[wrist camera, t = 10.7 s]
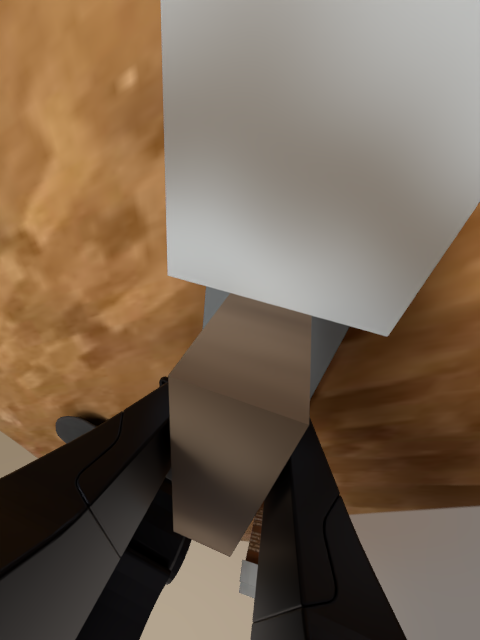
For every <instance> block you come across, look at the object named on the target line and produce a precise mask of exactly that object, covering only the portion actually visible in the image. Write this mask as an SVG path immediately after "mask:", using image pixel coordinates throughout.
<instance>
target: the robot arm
mask: <svg viewBox="0 0 480 640" xmlns="http://www.w3.org/2000/svg"><path fill="white" fill-rule="evenodd" d="M159 384H160V387H159V388H158V389H156V390H154V391H153V392H151V393H150V394H148V395H147V396H145V397H143V398H142V399H140V400H139V401H137V402H136V403H134V404H133V405H131V406H129V407H128V408H126V409H125V410H124V412H120V413H118V414H117V415H115V416H114V417H112V418H110V419H109V420H107V421H105V422H104V423H102V424H101V425H99V426H97V427H96V428H94V429H92V430H91V431H89V432H87V433H85V434H83V435H82V436H80V437H78V438H76V439H74V440H73V441H71V442H69V443H67V444H65V445H63V446H61V447H59V448H58V449H56V450H54V451H52V452H50V453H48V454H46V455H44V456H42V457H41V458H39V459H37V460H35V461H33V462H31V463H29V464H27V465H26V466H24V467H22V468H20V469H18V470H16V471H14V472H12V473H10V474H8V475H6V476H4V477H2V478H0V640H139V639H140V637H141V634H142V632H143V630H144V627H145V625H146V622H147V620H148V618H149V616H150V613H151V611H152V609H153V607H154V605H155V603H156V601H157V599H158V597H159V595H160V593H161V591H162V589H163V588H164V586H165V584H167V585H168V584H170V583H171V581H172V580H173V579H174V578H175V576H176V575H177V573H178V571H179V569H180V567H181V565H182V563H183V561H184V559H185V556H186V554H187V551H188V549H189V546H190V543H191V540H192V539H190V538H187V537H185V536H183V535H181V534H179V533H176V532H174V530H173V500H172V471H171V441H170V412H169V383H168V378H167V377H162V378H161V379H160V381H159ZM339 494H340V492H339V490H338V487H337V484H336V482H335V479H334V477H333V474H332V472H331V469H330V467H329V464H328V462H327V459H326V457H325V454H324V452H323V449H322V447H321V444H320V442H319V439H318V437H317V434H316V432H315V429H314V427H313V424H312V421H311V419H310V416H309V426H308V428H307V429H306V431H305V433H304V434H303V436H302V438H301V439H300V441H299V443H298V444H297V446H296V448H295V449H294V451H293V453H292V454H291V456H290V458H289V459H288V461H287V463H286V465H285V466H284V468H283V470H282V471H281V473H280V475H279V476H278V478H277V480H276V481H275V483H274V485H273V486H272V488H271V490H270V491H269V493H268V495H267V496H266V498H265V500H264V507H263V518H262V528H261V538H260V549H259V559H258V569H257V580H256V590H255V600H254V601H255V602H254V612H253V624H252V631H251V640H407V639H406V637H405V635H404V632H403V630H402V628H401V626H400V624H399V622H398V620H397V618H396V616H395V614H394V612H393V610H392V608H391V606H390V604H389V602H388V599H387V597H386V595H385V593H384V592H383V589H382V587H381V585H380V583H379V581H378V579H377V577H376V575H375V573H374V571H373V568H372V566H371V564H370V562H369V560H368V558H367V556H366V554H365V551H364V550H363V547H362V545H361V543H360V541H359V538H358V536H357V534H356V531H355V529H354V526H353V524H352V522H351V519H350V517H349V515H348V512H347V510H346V507H345V504H344V502H343V499H342V497H341V496H339Z"/></svg>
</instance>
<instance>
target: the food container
mask: <svg viewBox="0 0 480 640" xmlns="http://www.w3.org/2000/svg"><path fill="white" fill-rule="evenodd" d="M263 507H264V501H263V503H262V505H261V506H260V508H259V510H258V511H257V513H256V515H255V519H254V524H253V529H252V533H251V538H250V542H249V547H248V551H247V556H246V561H245V560H242V567H241V575H240V582H241V584H240V590H239V593H242V594H244V595H247V596H250V597H252V598H254V599H255V590H256V580H257V569H258V559H259V549H260V538H261V528H262V518H263Z"/></svg>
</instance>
